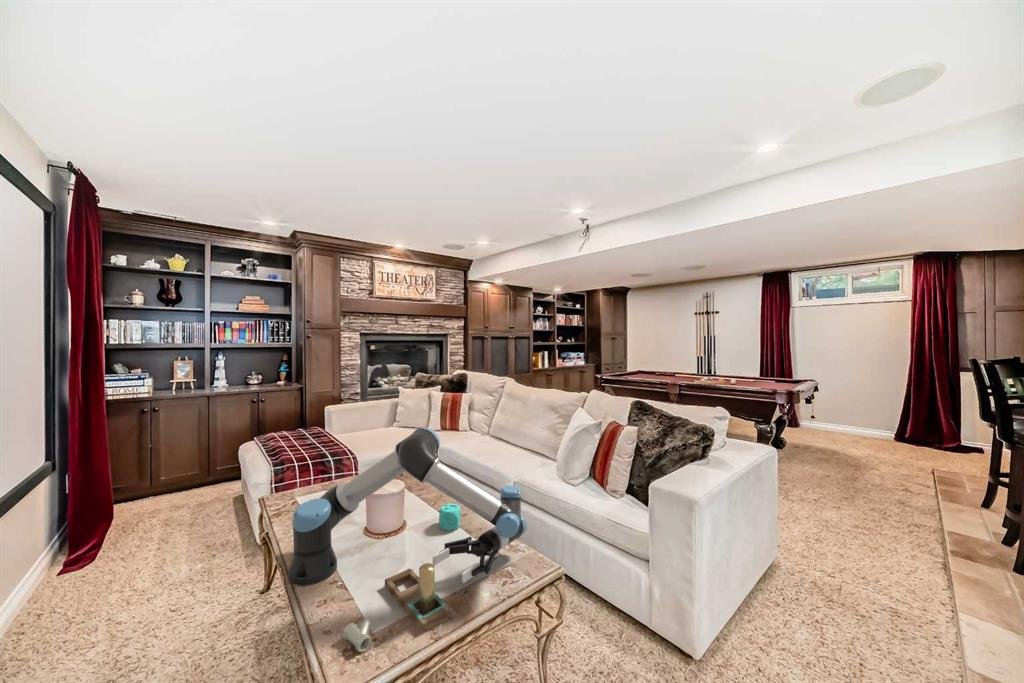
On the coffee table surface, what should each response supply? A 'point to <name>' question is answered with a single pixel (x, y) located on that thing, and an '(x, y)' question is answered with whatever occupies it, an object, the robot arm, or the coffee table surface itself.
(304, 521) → the robot arm
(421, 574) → the brass peg
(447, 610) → the walnut rail
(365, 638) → the pipe fitting
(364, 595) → the coffee table surface
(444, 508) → the decorative dice
